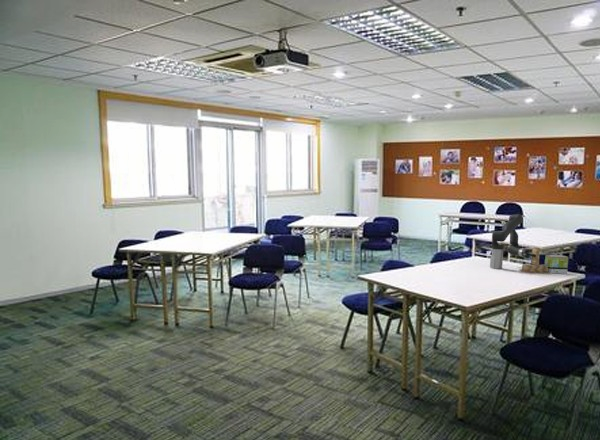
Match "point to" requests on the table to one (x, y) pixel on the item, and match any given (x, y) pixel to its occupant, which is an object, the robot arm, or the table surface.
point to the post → (536, 259)
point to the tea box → (556, 263)
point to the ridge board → (534, 268)
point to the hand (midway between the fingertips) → (537, 255)
